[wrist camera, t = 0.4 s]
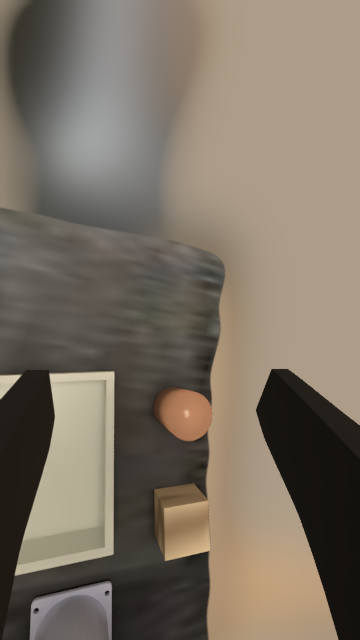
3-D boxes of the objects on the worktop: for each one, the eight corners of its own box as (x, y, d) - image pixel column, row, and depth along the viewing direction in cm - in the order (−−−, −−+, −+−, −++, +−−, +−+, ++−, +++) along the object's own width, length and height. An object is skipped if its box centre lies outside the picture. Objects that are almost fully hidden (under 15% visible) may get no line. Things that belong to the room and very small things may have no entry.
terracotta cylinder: (191, 425, 38) (213, 438, 31) (153, 428, 36) (167, 443, 30) (190, 385, 39) (211, 390, 32) (152, 387, 37) (166, 392, 30)
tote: (110, 527, 33) (113, 554, 29) (-30, 553, 29) (-52, 589, 25) (110, 370, 36) (114, 371, 31) (-18, 375, 32) (-36, 377, 27)
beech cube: (194, 526, 36) (210, 550, 32) (154, 534, 35) (165, 561, 30) (193, 483, 37) (208, 500, 32) (154, 489, 35) (164, 508, 31)
